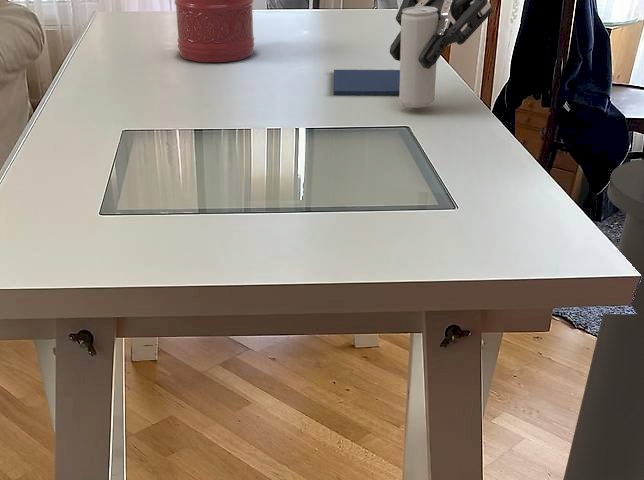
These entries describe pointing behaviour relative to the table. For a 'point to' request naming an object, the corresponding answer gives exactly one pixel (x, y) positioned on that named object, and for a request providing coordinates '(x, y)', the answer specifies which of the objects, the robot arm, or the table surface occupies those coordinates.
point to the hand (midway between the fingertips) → (408, 60)
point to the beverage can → (417, 56)
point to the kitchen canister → (215, 29)
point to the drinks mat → (366, 82)
